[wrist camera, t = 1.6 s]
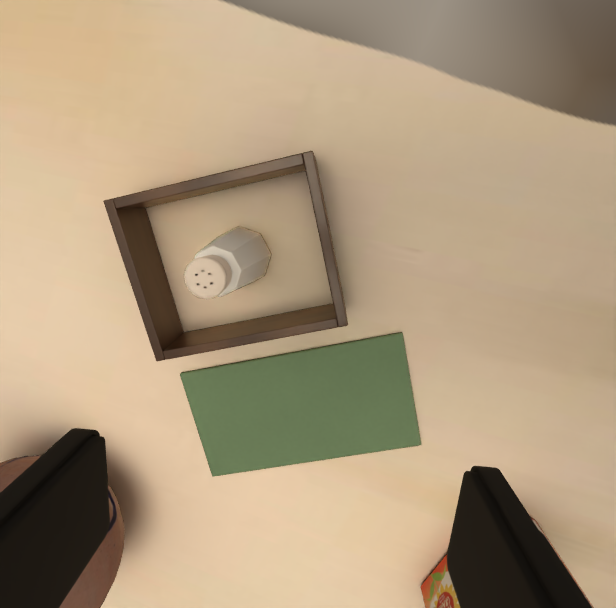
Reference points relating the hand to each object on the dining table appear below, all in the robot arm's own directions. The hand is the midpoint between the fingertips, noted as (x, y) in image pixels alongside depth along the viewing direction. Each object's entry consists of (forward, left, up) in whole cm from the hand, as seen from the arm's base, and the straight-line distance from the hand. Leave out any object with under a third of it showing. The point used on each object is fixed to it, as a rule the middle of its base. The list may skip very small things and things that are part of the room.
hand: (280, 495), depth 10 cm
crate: (+6, -4, -27) cm, 28 cm away
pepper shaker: (+6, -4, -27) cm, 28 cm away
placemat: (+4, +12, -27) cm, 30 cm away
